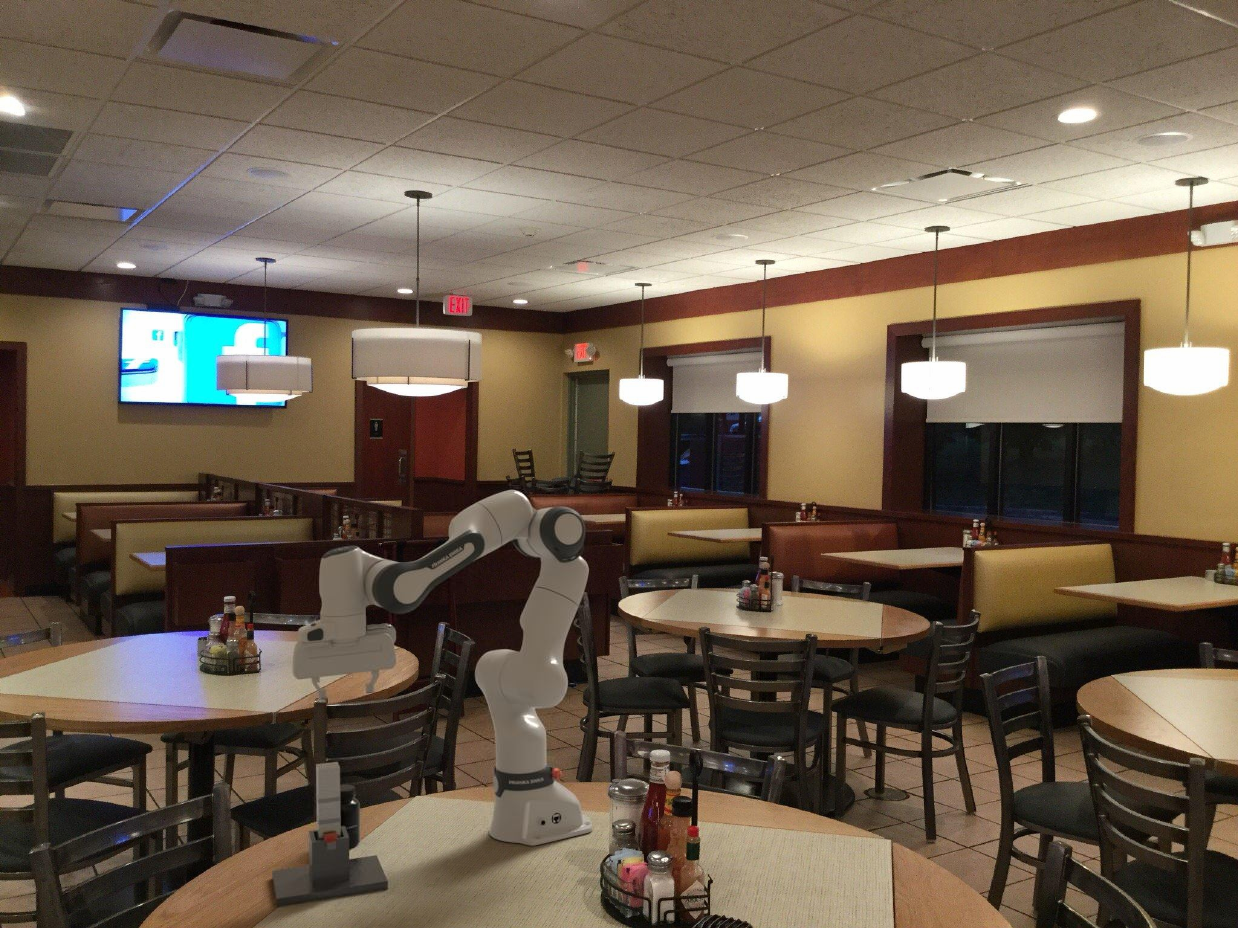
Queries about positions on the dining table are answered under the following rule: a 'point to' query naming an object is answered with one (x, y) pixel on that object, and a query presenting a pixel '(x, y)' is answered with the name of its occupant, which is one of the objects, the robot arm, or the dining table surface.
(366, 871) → the stand
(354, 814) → the supplement bottle
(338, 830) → the column
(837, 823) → the dining table surface
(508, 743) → the robot arm
